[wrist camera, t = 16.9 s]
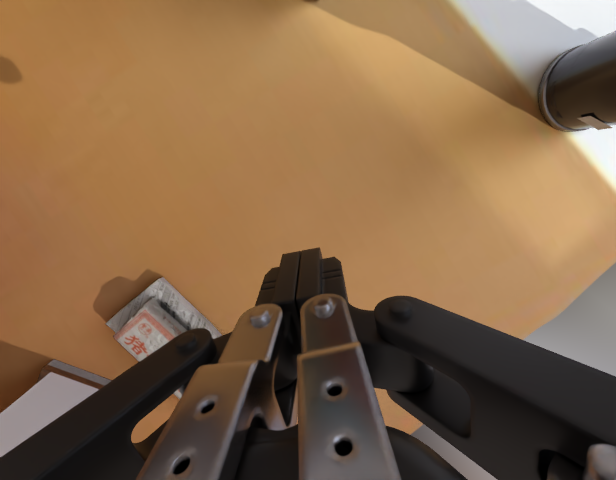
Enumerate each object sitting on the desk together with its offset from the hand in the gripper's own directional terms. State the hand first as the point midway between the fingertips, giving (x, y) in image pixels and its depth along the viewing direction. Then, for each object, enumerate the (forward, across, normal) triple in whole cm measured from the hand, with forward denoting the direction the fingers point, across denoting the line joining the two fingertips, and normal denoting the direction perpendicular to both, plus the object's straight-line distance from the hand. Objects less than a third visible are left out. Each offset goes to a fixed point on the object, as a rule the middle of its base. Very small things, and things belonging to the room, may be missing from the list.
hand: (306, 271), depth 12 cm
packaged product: (+22, +22, +19) cm, 37 cm away
